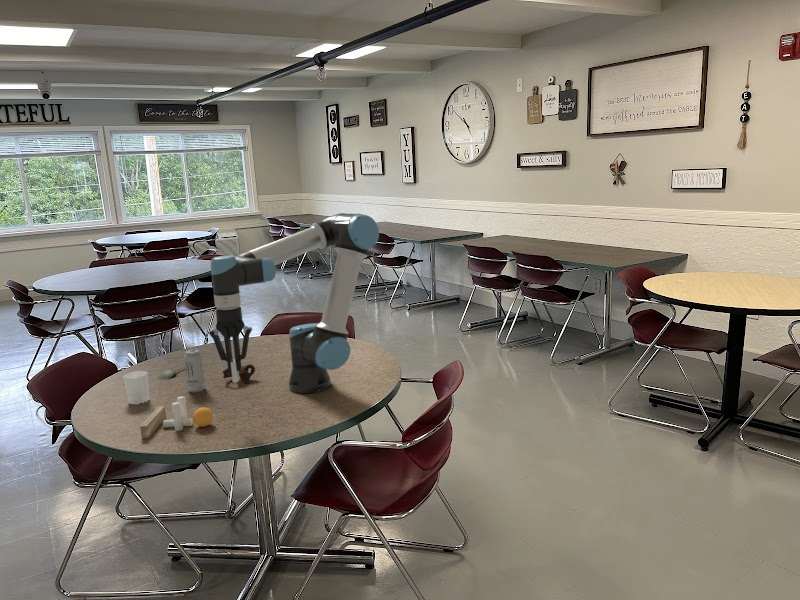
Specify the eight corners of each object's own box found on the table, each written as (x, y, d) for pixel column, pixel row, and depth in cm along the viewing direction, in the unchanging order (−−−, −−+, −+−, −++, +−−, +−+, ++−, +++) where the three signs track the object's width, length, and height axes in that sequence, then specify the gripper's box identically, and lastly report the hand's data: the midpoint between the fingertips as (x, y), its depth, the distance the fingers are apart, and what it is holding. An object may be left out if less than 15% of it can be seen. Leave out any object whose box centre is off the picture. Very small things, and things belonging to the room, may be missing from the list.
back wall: (166, 417, 198) (164, 405, 197) (148, 438, 183) (146, 425, 182) (159, 417, 198) (158, 406, 197) (141, 438, 183) (140, 426, 182)
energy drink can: (184, 392, 221) (179, 353, 218) (195, 386, 227) (190, 348, 224) (198, 393, 219) (193, 354, 216) (208, 388, 224) (204, 349, 221)
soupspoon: (154, 381, 239) (166, 384, 236) (153, 373, 238) (165, 376, 235) (193, 362, 258) (205, 365, 255) (192, 355, 257) (204, 357, 254)
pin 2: (184, 427, 189) (181, 401, 188) (181, 430, 187) (178, 404, 185) (176, 427, 189) (173, 402, 188) (174, 431, 187) (170, 405, 185)
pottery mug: (231, 390, 223) (221, 370, 224) (228, 393, 231) (219, 374, 232) (261, 375, 228) (251, 356, 229) (257, 379, 237) (247, 360, 237)
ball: (193, 418, 192) (212, 422, 194) (189, 428, 187) (208, 432, 188) (197, 402, 191) (216, 406, 192) (193, 411, 185) (212, 415, 186)
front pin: (192, 417, 192) (164, 418, 191) (189, 419, 189) (162, 421, 189) (192, 424, 192) (165, 425, 192) (190, 427, 190) (163, 428, 189)
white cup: (136, 406, 209) (132, 379, 207) (122, 403, 213) (118, 376, 211) (155, 399, 216) (152, 372, 213) (142, 395, 220) (138, 369, 218)
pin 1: (189, 421, 194) (185, 396, 193) (186, 424, 192) (183, 398, 190) (181, 421, 194) (178, 396, 193) (179, 424, 192) (175, 399, 190)
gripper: (203, 311, 180) (212, 386, 185) (247, 308, 180) (254, 383, 185) (209, 305, 187) (218, 378, 192) (252, 303, 188) (259, 375, 192)
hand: (236, 380), depth 188 cm, fingers closed
